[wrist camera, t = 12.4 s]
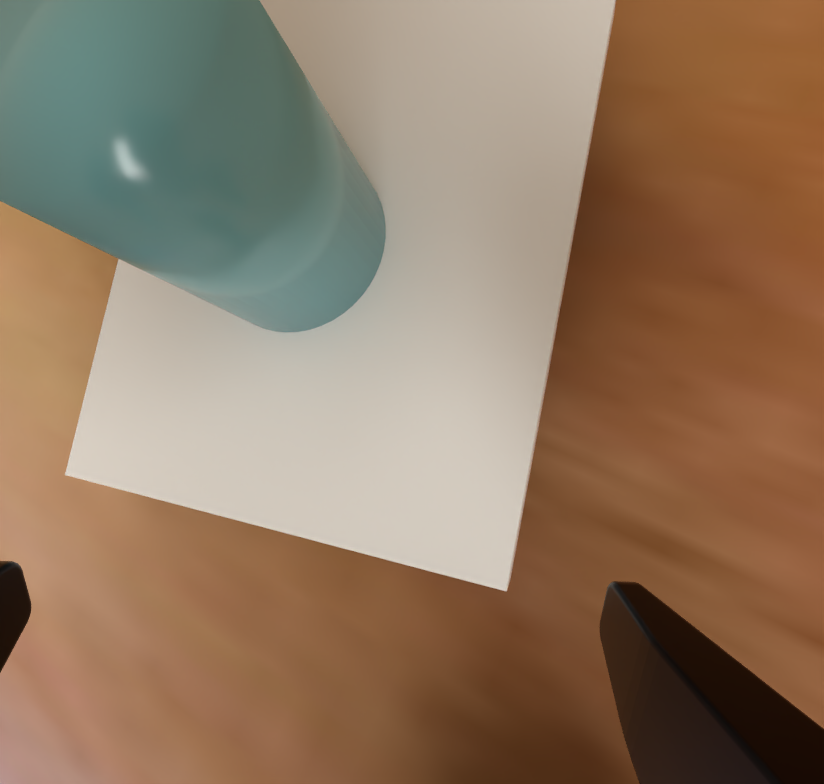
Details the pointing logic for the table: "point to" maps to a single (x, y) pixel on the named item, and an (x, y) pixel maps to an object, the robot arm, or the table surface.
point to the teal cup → (187, 153)
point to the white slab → (382, 301)
